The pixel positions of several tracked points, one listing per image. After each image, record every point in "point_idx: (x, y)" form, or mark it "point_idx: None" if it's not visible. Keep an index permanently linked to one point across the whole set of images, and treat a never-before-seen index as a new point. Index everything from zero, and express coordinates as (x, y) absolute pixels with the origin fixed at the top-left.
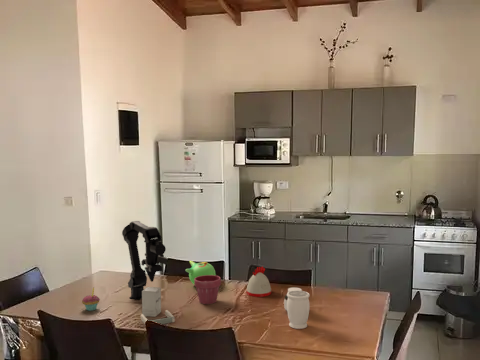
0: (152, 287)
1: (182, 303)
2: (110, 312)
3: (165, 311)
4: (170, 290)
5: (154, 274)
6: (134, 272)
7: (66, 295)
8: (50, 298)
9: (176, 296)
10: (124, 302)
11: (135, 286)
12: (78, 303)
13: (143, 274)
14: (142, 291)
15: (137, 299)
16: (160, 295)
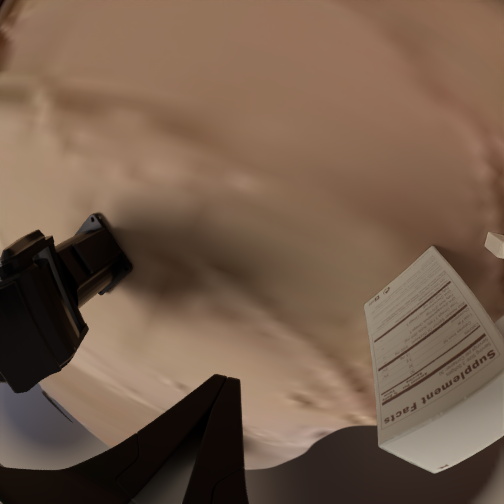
0: (444, 425)
1: (349, 32)
2: (261, 415)
3: (500, 256)
4: (65, 58)
5: (244, 494)
6: (16, 385)
7: (66, 392)
8: (85, 417)
9: (169, 28)
10: (150, 333)
11: (68, 307)
12: (126, 415)
13: (3, 313)
14: (437, 469)
15: (130, 271)
16: (488, 315)
